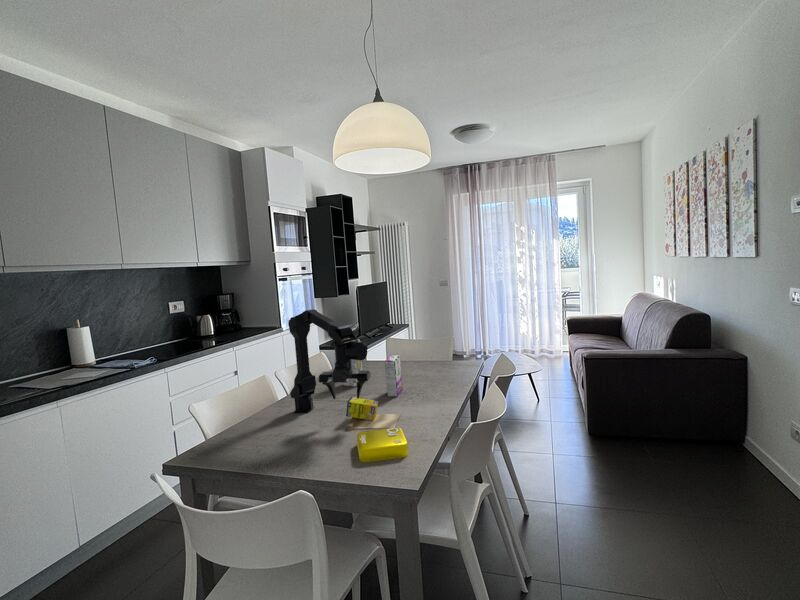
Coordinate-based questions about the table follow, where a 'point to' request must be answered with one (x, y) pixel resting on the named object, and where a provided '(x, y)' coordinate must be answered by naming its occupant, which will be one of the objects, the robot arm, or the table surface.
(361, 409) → the supplement box
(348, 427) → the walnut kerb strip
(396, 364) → the candy bar box
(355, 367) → the juice carton
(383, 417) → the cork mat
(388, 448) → the yellow flat block
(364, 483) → the table surface
